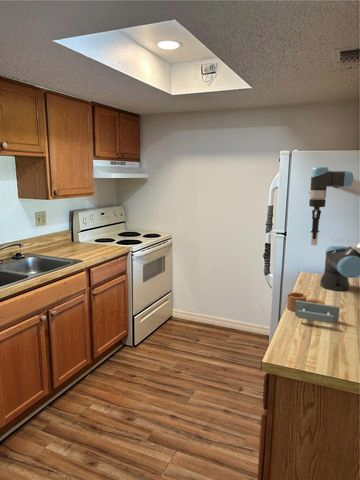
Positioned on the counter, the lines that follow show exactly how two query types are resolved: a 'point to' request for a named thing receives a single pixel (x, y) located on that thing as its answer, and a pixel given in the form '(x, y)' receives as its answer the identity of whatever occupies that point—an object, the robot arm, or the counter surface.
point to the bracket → (300, 297)
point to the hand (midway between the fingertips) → (314, 244)
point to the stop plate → (316, 311)
